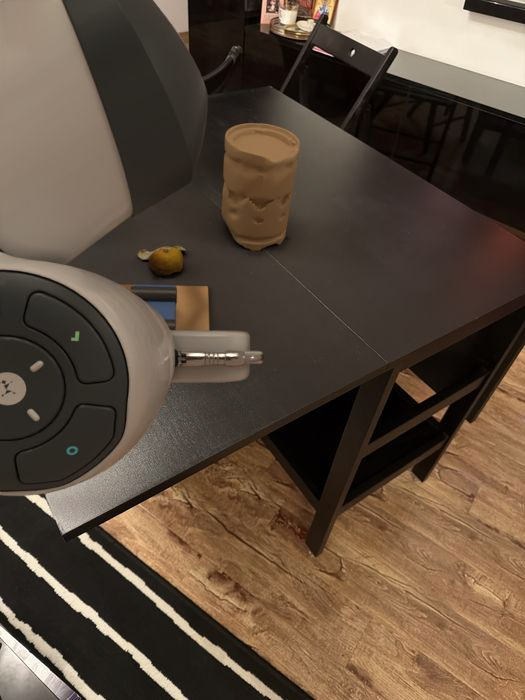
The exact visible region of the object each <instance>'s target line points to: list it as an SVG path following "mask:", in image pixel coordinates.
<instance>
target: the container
mask: <svg viewBox="0 0 525 700" xmlns="http://www.w3.org/2000/svg"><path fill="white" fill-rule="evenodd" d="M300 148H301V141H300V139H299V138H298V136H297V135H296V134H294V133H293V132H291V131H290V130H288V129H285V128H283V127H280V126H277V125H273V124H268V123H255V122H248V123H247V122H246V123H241V124H236V125H234V126H232V127H230V128H228V129H227V131H226V132H225V135H224V150H225V153H224V156H223V170H222V171H223V173H222V175H223V176H222V177H223V181H224V182H223V187H222V191H221V192H222V193H221V194H222V201H221V217H222V219H223V221H224V222H225V224H226V226H227V228H228V229H229V232H230V233H231V235H232V238H233V240H234V241H235V242H236V243H238V245H241V246H243V248H245V249H249V250H250V251H253V252H256V251H257V252H259V251H261V250H262V249H264V248H266V247H268V246H271V245H274V244H276V245H278V246H280V245H282V243H283V241H284V240H285V238H286V234H287V227H288V222H289V216H290V210H291V204H292V198H293V190H294V186H295V180H296V174H297V167H298V158H299V155H300Z"/></svg>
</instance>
